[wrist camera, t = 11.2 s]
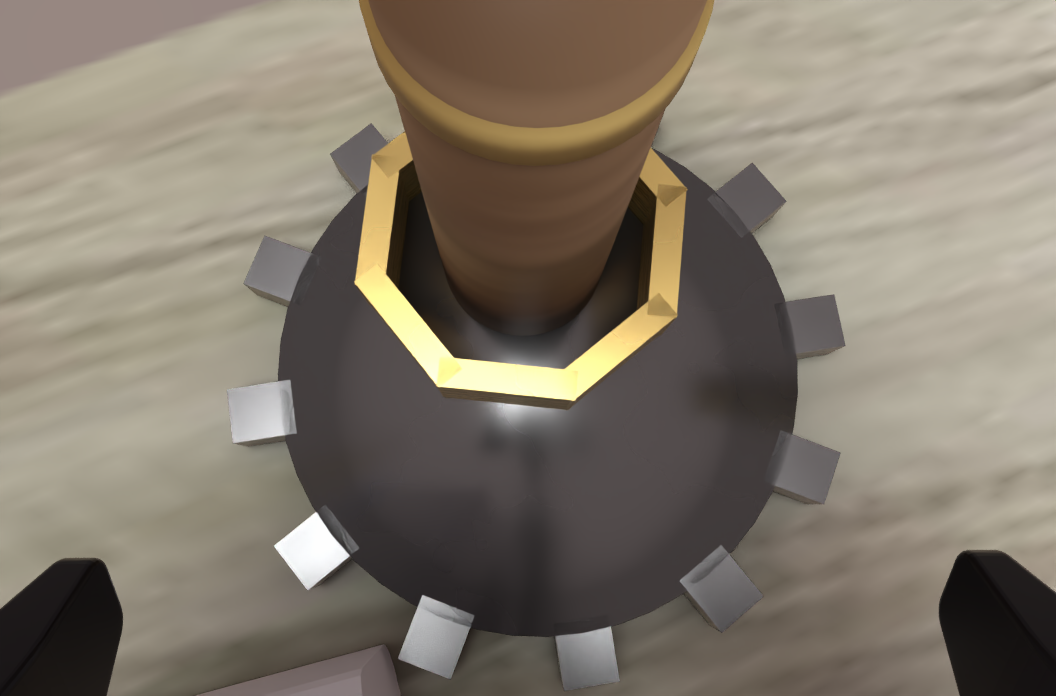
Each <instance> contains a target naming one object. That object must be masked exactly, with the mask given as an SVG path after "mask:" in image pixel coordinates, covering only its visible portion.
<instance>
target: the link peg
mask: <svg viewBox="0 0 1056 696" xmlns="http://www.w3.org/2000/svg"><path fill="white" fill-rule="evenodd" d="M359 3H360V8H361V12H362V15H363V18H364V22H365V25H366V28H367V32H368V35H369V38H370V42H371V45H372V48H373V51H374V54H375V57H376V60H377V63H378V66H379V68H380V70H381V72H382V74H383V76H384V78H385V80H386V82H387V84H388V85H389V87H390V88H391V90H392V91H393V93H394V94H395V97H396V101H397V104H398V108H399V112H400V115H401V119H402V122H403V126H404V129H405V133H406V136H407V140H408V144H409V147H410V151H411V154H412V158H413V161H414V165H415V169H416V172H417V176H418V179H419V183H420V186H421V190H422V193H423V197H424V201H425V204H426V208H427V211H428V215H429V218H430V222H431V225H432V229H433V233H434V236H435V240H436V243H437V247H438V250H439V254H440V257H441V261H442V265H443V268H444V272H445V275H446V279H447V282H448V285H449V288H450V290H451V292H452V294H453V296H454V297H455V299H456V300H457V302H458V303H459V305H460V306H461V307H462V308H463V309H464V311H465V312H466V313H467V314H468V315H470V316H471V317H472V318H473V319H474V320H476V321H477V322H479V323H480V324H482V325H483V326H485V327H487V328H489V329H492V330H494V331H497V332H500V333H504V334H509V335H516V336H531V335H538V334H543V333H546V332H549V331H552V330H555V329H557V328H559V327H561V326H563V325H565V324H566V323H568V322H569V321H571V320H572V319H573V318H574V317H576V316H577V315H578V314H579V313H580V312H581V311H582V310H583V309H584V308H585V306H586V305H587V304H588V302H589V301H590V299H591V298H592V296H593V294H594V292H595V290H596V288H597V285H598V283H599V280H600V277H601V275H602V272H603V270H604V267H605V264H606V262H607V259H608V257H609V254H610V251H611V249H612V246H613V244H614V241H615V238H616V236H617V233H618V231H619V228H620V225H621V223H622V220H623V218H624V215H625V213H626V210H627V207H628V205H629V202H630V200H631V197H632V194H633V192H634V189H635V187H636V184H637V181H638V179H639V176H640V174H641V171H642V168H643V166H644V163H645V161H646V158H647V155H648V153H649V150H650V148H651V145H652V142H653V140H654V137H655V135H656V132H657V129H658V127H659V124H660V122H661V119H662V116H663V114H664V111H665V109H666V107H667V106H668V105H669V104H670V102H671V101H672V100H673V98H674V97H675V95H676V94H677V92H678V91H679V89H680V88H681V86H682V84H683V82H684V80H685V78H686V76H687V74H688V72H689V70H690V68H691V66H692V64H693V61H694V59H695V56H696V54H697V51H698V49H699V46H700V44H701V41H702V39H703V36H704V34H705V31H706V28H707V25H708V22H709V19H710V16H711V13H712V9H713V4H714V0H359Z"/></svg>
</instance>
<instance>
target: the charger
mask: <svg viewBox="0 0 1056 696" xmlns="http://www.w3.org/2000/svg"><path fill="white" fill-rule="evenodd" d="M195 696H401V693H400V689H399V685H398V681H397V677H396V673H395V668H394V665H393V662H392V659H391V656H390V653H389V651H388V648H387V646H386V645H384V644H383V645H379V646H375V647H372V648H368V649H364V650H361V651H357V652H353V653H350V654H346V655H342V656H339V657H335V658H331V659H328V660H324V661H320V662H316V663H313V664H309V665H305V666H302V667H298V668H294V669H291V670H287V671H283V672H280V673H276V674H272V675H269V676H265V677H261V678H258V679H254V680H250V681H246V682H243V683H239V684H235V685H232V686H228V687H224V688H221V689H217V690H213V691H210V692H206V693H202V694H199V695H195Z"/></svg>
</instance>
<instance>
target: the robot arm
mask: <svg viewBox="0 0 1056 696" xmlns="http://www.w3.org/2000/svg"><path fill="white" fill-rule="evenodd" d="M939 620H940V625H941V628H942V632H943V636H944V639H945V643H946V647H947V651H948V654H949V658H950V662H951V665H952V669H953V673H954V676H955V680H956V684H957V687H958V691H959V695H960V696H1056V592H1055V591H1053V590H1052V589H1051V588H1050V587H1048V586H1047V585H1046V584H1044V583H1043V582H1042V581H1041V580H1039V579H1038V578H1037V577H1036V576H1034V575H1033V574H1032V573H1031V572H1029V571H1028V570H1027V569H1026V568H1024V567H1023V566H1022V565H1020V564H1019V563H1018V562H1017V561H1015V560H1014V559H1013V558H1012V557H1010V556H1009V555H1007V554H1006V553H1004V552H1002V551H998V550H966V551H963V552H962V553H960V554H959V555H958V556H957V558H956V560H955V563H954V565H953V568H952V570H951V573H950V576H949V578H948V581H947V583H946V586H945V588H944V591H943V593H942V596H941V599H940V603H939ZM122 626H123V613H122V608H121V605H120V602H119V599H118V596H117V594H116V591H115V588H114V586H113V583H112V580H111V577H110V575H109V572H108V569H107V567H106V565H105V563H104V562H103V561H102V560H100V559H98V558H64V559H61V560H59V561H57V562H55V563H54V564H52V565H51V566H50V567H49V568H48V569H46V570H45V571H44V572H43V573H42V574H41V575H39V576H38V577H37V578H36V579H35V580H34V581H32V582H31V583H30V584H29V585H28V586H26V587H25V588H24V589H23V590H22V591H21V592H19V593H18V594H17V595H16V596H15V597H14V598H12V599H11V600H10V601H9V602H8V603H7V604H5V605H4V606H3V607H2V608H1V609H0V696H107V692H108V688H109V684H110V679H111V675H112V671H113V667H114V663H115V658H116V654H117V650H118V646H119V641H120V637H121V633H122Z"/></svg>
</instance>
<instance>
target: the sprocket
mask: <svg viewBox="0 0 1056 696" xmlns="http://www.w3.org/2000/svg"><path fill="white" fill-rule="evenodd" d="M662 117H663V116H662ZM659 125H660V124H659ZM657 130H658V129H657ZM656 133H657V132H656ZM654 138H655V137H654ZM653 141H654V140H653ZM652 143H653V142H652ZM651 146H652V145H651ZM330 155H331V157H332V159H333V161H334V163H335V165H336V167H337V169H338V170H339V172H340V174H341V175H342V176H343V177H344V178H345V180H346V181H347V182H348V183H349V185H350V186H351V187H352V188H353V189H354V191H355V192H356V193H357V194H356V195H355V196H354V197H353V198H352V199H351V200H350V201H349V203H348V204H347V205H346V206H345V207H344V208H343V209H342V210H341V211H340V213H339V214H338V215H337V216H336V217H335V218H334V219H333V220H332V222H331V223H330V225H329V226H328V228H327V229H326V231H325V232H324V234H323V235H322V236H321V238H320V239H319V241H318V242H317V244H316V245H315V247H314V248H313V250H312V252H311V253H310V252H307V251H304V250H302V249H299V248H296V247H294V246H291V245H288V244H286V243H283V242H280V241H278V240H275V239H272V238H270V237H267V236H264V238H263V241H262V243H261V245H260V247H259V250H258V252H257V254H256V256H255V259H254V261H253V263H252V265H251V268H250V270H249V272H248V274H247V277H246V279H245V281H244V283H243V284H244V285H246V286H247V287H248V288H249V289H251V290H252V291H253V292H254V293H255V294H257V295H258V296H261V297H263V298H266V299H269V300H271V301H274V302H276V303H279V304H282V305H284V306H287V307H288V309H287V314H286V319H285V323H284V328H283V333H282V337H281V344H280V356H279V369H278V382H272V383H265V384H259V385H253V386H246V387H240V388H233V389H227V395H228V404H229V413H230V422H231V431H232V440H233V443H234V444H238V445H243V446H248V447H249V446H255V445H261V444H267V443H274V442H280V441H286V443H287V446H288V449H289V452H290V455H291V458H292V461H293V464H294V467H295V470H296V473H297V476H298V478H299V480H300V482H301V484H302V486H303V488H304V490H305V492H306V494H307V496H308V498H309V500H310V502H311V504H312V506H313V508H314V509H315V511H316V513H314V514H313V515H312V516H311V517H309V518H308V519H307V520H306V521H304V522H303V523H302V524H301V525H299V526H298V527H297V528H296V529H294V530H293V531H292V532H291V533H289V534H288V535H287V536H286V537H284V538H283V539H282V540H281V541H279V542H278V543H277V544H276V545H274V547H275V548H276V549H277V551H278V552H279V553H280V555H281V556H282V557H283V559H284V560H285V561H286V563H287V564H288V565H289V567H290V568H291V569H292V571H293V572H294V573H295V574H296V576H297V577H298V578H299V580H300V581H301V582H302V584H303V585H304V586H305V588H306V589H307V590H309V589H312V588H314V587H316V586H319V585H320V584H321V583H322V582H324V581H325V580H326V579H327V578H329V577H330V576H331V575H332V574H334V573H335V572H336V571H337V570H338V569H340V568H341V567H342V566H343V565H345V564H346V563H347V562H348V561H350V560H351V559H353V560H354V561H355V562H356V563H357V564H359V565H360V566H361V567H362V568H363V569H364V570H366V571H367V572H368V573H369V574H370V575H371V576H372V577H374V578H375V579H376V580H377V581H378V582H379V583H381V584H382V585H383V586H385V587H386V588H388V589H390V590H391V591H393V592H394V593H396V594H397V595H399V596H400V597H402V598H403V599H405V600H406V601H408V602H409V603H411V604H413V605H415V606H417V607H418V608H417V610H416V613H415V616H414V618H413V621H412V623H411V626H410V628H409V631H408V634H407V636H406V639H405V641H404V644H403V647H402V649H401V652H400V654H399V657H398V659H400V660H402V661H405V662H407V663H410V664H412V665H415V666H418V667H420V668H423V669H425V670H428V671H430V672H433V673H435V674H438V675H440V676H443V677H445V678H448V679H450V680H451V677H452V674H453V672H454V669H455V666H456V664H457V661H458V658H459V656H460V653H461V651H462V648H463V645H464V643H465V640H466V637H467V635H468V632H469V629H470V627H471V628H474V629H477V630H483V631H489V632H495V633H501V634H506V635H512V636H540V637H551V636H554V639H555V646H556V652H557V658H558V664H559V670H560V677H561V682H562V685H563V689H564V691H568V690H574V689H580V688H585V687H591V686H597V685H603V684H608V683H614V682H620V679H619V673H618V667H617V661H616V655H615V649H614V643H613V637H612V632H611V626H615V625H619V624H621V623H624V622H626V621H629V620H631V619H634V618H636V617H639V616H642V615H644V614H647V613H649V612H651V611H653V610H655V609H657V608H659V607H660V606H662V605H664V604H666V603H668V602H669V601H671V600H673V599H675V598H677V597H678V596H680V595H682V594H683V593H684V594H685V596H686V597H687V598H688V599H689V600H690V602H691V603H692V604H693V605H694V607H695V608H696V609H697V610H698V611H699V613H700V614H701V615H702V616H703V618H704V619H705V620H706V621H707V622H708V624H709V625H710V626H712V627H713V628H715V629H716V630H718V631H720V632H721V633H722V632H723V631H725V630H726V629H727V628H728V627H729V626H730V625H731V624H733V623H734V622H735V621H736V620H737V619H738V618H739V617H741V616H742V615H743V614H744V613H745V612H746V611H747V610H749V609H750V608H751V607H752V606H753V605H754V604H755V603H757V602H758V601H759V600H760V599H761V598H762V597H763V595H762V594H761V592H760V591H759V590H758V589H757V588H756V586H755V585H754V584H753V583H752V582H751V580H750V579H749V578H748V577H747V576H746V574H745V573H744V572H743V571H742V569H741V568H740V567H739V566H738V565H737V563H736V562H735V561H734V560H733V559H732V557H731V556H730V555H729V554H730V553H731V552H732V551H733V550H734V549H735V547H736V546H737V545H738V544H739V542H740V541H741V540H742V538H743V537H744V536H745V534H746V533H747V532H748V531H749V529H750V528H751V527H752V525H753V524H754V523H755V521H756V520H757V518H758V516H759V514H760V513H761V511H762V509H763V507H764V506H765V504H766V502H767V500H768V499H769V497H770V495H771V493H772V491H774V492H776V493H779V494H782V495H784V496H787V497H790V498H792V499H795V500H797V501H800V502H803V503H805V504H824V503H825V500H826V497H827V493H828V490H829V487H830V484H831V481H832V478H833V475H834V472H835V468H836V465H837V462H838V459H839V456H840V452H837V451H835V450H832V449H829V448H827V447H824V446H821V445H819V444H816V443H813V442H811V441H808V440H805V439H803V438H800V437H798V436H795V435H792V432H793V428H794V420H795V412H796V403H797V395H798V383H797V359H801V358H807V357H813V356H819V355H826V354H829V353H831V352H833V351H835V350H838V349H840V348H842V347H844V346H845V341H844V337H843V332H842V328H841V323H840V319H839V314H838V310H837V305H836V301H835V296H834V295H827V296H821V297H815V298H808V299H802V300H795V301H789V302H785V299H784V295H783V293H782V291H781V288H780V286H779V284H778V281H777V279H776V277H775V274H774V272H773V270H772V267H771V265H770V263H769V261H768V260H767V258H766V256H765V255H764V253H763V251H762V250H761V248H760V246H759V244H758V243H757V241H756V239H755V238H754V236H753V235H752V233H753V232H754V231H756V230H757V229H758V228H759V227H760V226H762V225H763V224H764V223H765V222H767V221H768V220H769V219H770V218H772V217H773V216H774V214H775V213H776V212H777V211H778V210H779V209H780V208H781V207H782V206H783V205H784V203H785V202H786V200H785V199H784V198H783V197H782V196H781V194H780V193H779V192H778V191H777V190H776V189H775V188H774V187H773V185H772V184H771V183H770V182H769V181H768V180H767V179H766V178H765V176H764V175H763V174H762V173H761V172H760V171H759V170H758V169H757V167H756V166H755V165H754V164H753V163H751V164H750V165H749V166H748V167H746V168H745V169H744V170H743V171H741V172H740V173H739V174H738V175H736V176H735V177H734V178H733V179H731V180H730V181H729V182H728V183H726V184H725V185H724V186H723V187H721V188H720V189H719V190H718V191H716V192H715V191H714V190H713V189H712V188H711V187H710V186H708V185H707V184H706V183H705V182H703V181H702V180H701V179H699V178H698V177H697V176H696V175H694V174H693V173H692V172H690V171H689V170H688V169H687V168H685V167H684V166H682V165H680V164H679V163H677V162H675V161H674V160H672V159H670V158H669V157H667V156H665V155H664V154H662V153H660V152H659V151H657V150H655V149H652V148H650V150H649V153H648V155H647V158H646V161H645V163H644V166H643V168H642V171H641V174H640V176H639V179H638V181H637V184H636V187H635V189H634V192H633V194H632V197H631V200H630V202H629V205H628V207H627V210H626V213H625V215H624V218H623V220H622V223H621V225H620V228H619V231H618V233H617V236H616V238H615V241H614V244H613V246H612V249H611V251H610V254H609V257H608V259H607V262H606V264H605V267H604V270H603V272H602V275H601V277H600V280H599V283H598V285H597V288H596V290H595V292H594V294H593V296H592V298H591V299H590V301H589V302H588V304H587V305H586V306H585V308H584V309H583V310H582V311H581V312H580V313H579V314H578V315H577V316H576V317H574V318H573V319H572V320H571V321H569V322H568V323H566V324H565V325H563V326H561V327H559V328H557V329H555V330H552V331H549V332H546V333H543V334H538V335H531V336H516V335H509V334H504V333H500V332H497V331H494V330H492V329H489V328H487V327H485V326H483V325H482V324H480V323H479V322H477V321H476V320H474V319H473V318H472V317H471V316H470V315H468V314H467V313H466V312H465V311H464V309H463V308H462V307H461V306H460V305H459V303H458V302H457V300H456V299H455V297H454V296H453V294H452V292H451V290H450V288H449V285H448V282H447V279H446V275H445V272H444V268H443V265H442V261H441V257H440V254H439V250H438V247H437V243H436V240H435V236H434V233H433V229H432V225H431V222H430V218H429V215H428V211H427V208H426V204H425V201H424V197H423V193H422V190H421V186H420V183H419V179H418V176H417V172H416V169H415V165H414V161H413V158H412V154H411V151H410V147H409V144H408V140H407V136H406V133H405V132H403V133H402V134H401V135H399V136H398V137H397V138H395V139H394V140H393V141H391V142H390V143H389V144H388V143H387V142H386V140H385V139H384V138H383V137H382V136H381V134H380V133H379V132H378V131H377V129H376V128H375V127H374V126H373V125H372V123H371V124H370V125H368V126H367V127H366V128H364V129H363V130H362V131H360V132H359V133H358V134H356V135H355V136H353V137H352V138H351V139H349V140H348V141H347V142H345V143H344V144H343V145H341V146H340V147H339V148H337V149H336V150H335V151H333V152H332V153H331V154H330Z"/></svg>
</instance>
